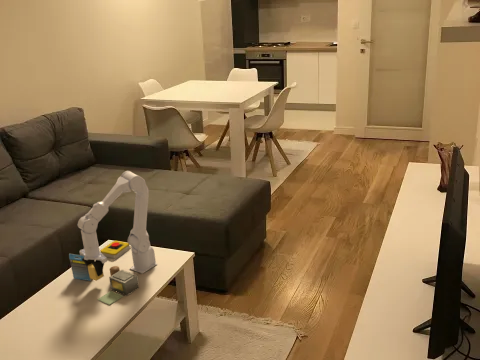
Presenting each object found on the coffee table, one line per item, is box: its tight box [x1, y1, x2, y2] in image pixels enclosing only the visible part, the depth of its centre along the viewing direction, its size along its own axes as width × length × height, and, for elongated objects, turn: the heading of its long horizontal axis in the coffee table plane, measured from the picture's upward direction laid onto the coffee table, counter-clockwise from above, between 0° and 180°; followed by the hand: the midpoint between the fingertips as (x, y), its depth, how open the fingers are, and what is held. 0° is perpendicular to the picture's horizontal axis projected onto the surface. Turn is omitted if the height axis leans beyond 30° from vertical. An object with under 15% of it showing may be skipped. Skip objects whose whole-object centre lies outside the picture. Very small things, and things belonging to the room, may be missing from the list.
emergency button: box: [99, 240, 132, 262], centre depth 244 cm, size 9×4×15 cm
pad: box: [97, 290, 124, 306], centre depth 208 cm, size 7×7×1 cm
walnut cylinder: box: [109, 265, 121, 276], centre depth 219 cm, size 4×4×6 cm
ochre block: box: [88, 264, 105, 282], centre depth 215 cm, size 4×4×6 cm
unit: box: [109, 269, 140, 297], centre depth 213 cm, size 7×9×6 cm
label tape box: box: [68, 253, 93, 282], centre depth 222 cm, size 9×4×12 cm, turn 70°
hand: (96, 273), depth 216 cm, fingers closed on ochre block, 4 cm apart
